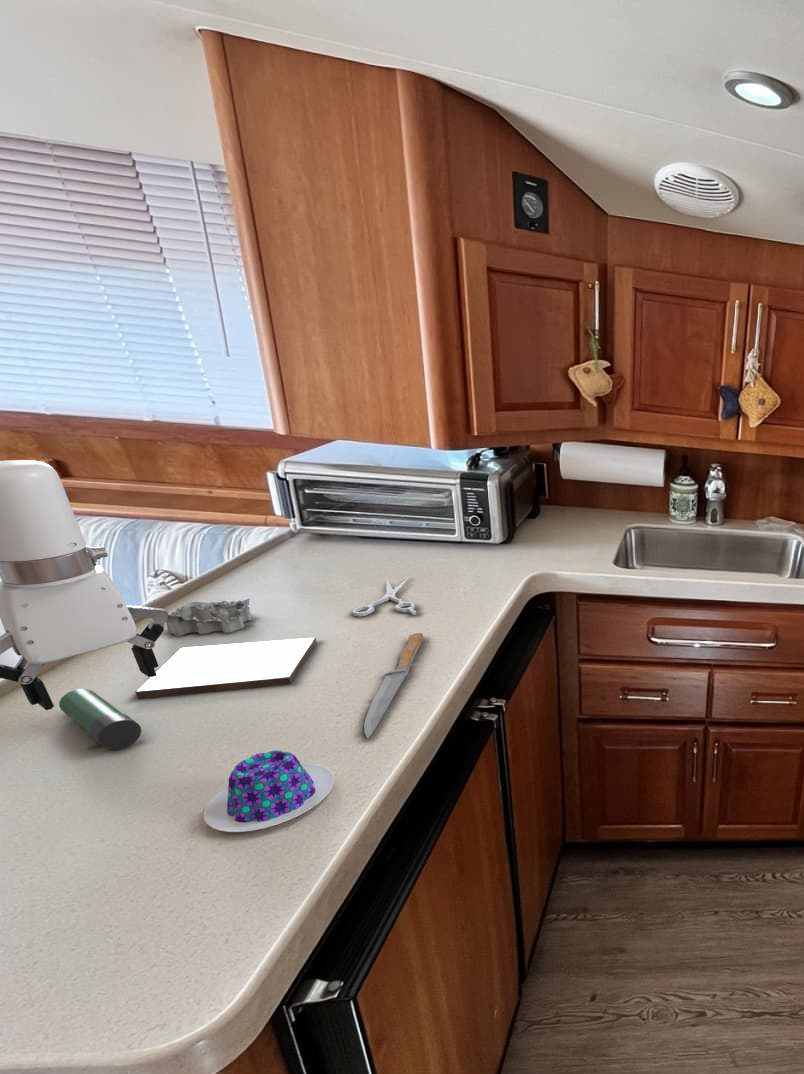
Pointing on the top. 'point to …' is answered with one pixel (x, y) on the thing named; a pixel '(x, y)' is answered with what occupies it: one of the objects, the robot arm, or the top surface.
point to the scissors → (388, 596)
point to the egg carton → (209, 617)
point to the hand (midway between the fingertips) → (100, 689)
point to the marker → (100, 719)
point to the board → (229, 667)
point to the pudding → (267, 792)
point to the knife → (391, 684)
